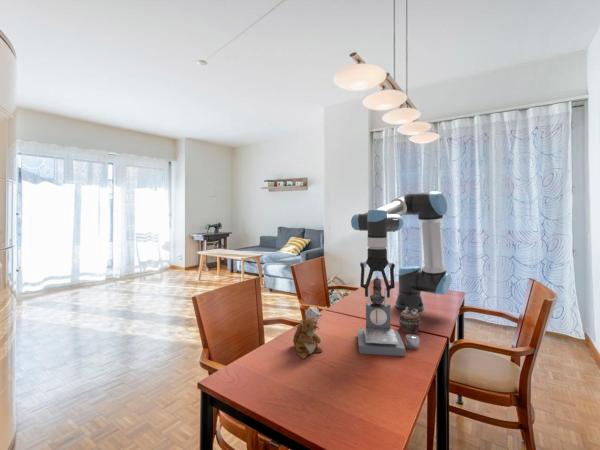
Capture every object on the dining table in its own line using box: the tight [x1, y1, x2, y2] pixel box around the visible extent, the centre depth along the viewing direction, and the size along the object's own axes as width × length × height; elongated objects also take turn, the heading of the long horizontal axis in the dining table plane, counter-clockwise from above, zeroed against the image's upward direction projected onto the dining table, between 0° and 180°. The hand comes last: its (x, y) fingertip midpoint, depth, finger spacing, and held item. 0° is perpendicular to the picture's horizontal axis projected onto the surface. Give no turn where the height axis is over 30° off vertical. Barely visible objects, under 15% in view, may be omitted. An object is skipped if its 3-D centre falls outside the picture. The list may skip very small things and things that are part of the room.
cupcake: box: [398, 307, 422, 334], centre depth 134 cm, size 10×10×10 cm
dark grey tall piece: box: [370, 276, 385, 308], centre depth 117 cm, size 6×6×12 cm
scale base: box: [357, 302, 406, 357], centre depth 118 cm, size 17×16×15 cm
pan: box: [363, 327, 398, 344], centre depth 117 cm, size 12×12×2 cm
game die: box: [302, 305, 323, 325], centre depth 144 cm, size 9×8×10 cm
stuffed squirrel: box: [292, 318, 323, 360], centre depth 115 cm, size 10×14×13 cm
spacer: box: [405, 333, 420, 350], centre depth 118 cm, size 5×5×4 cm
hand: (377, 304), depth 117 cm, fingers closed on dark grey tall piece, 6 cm apart
